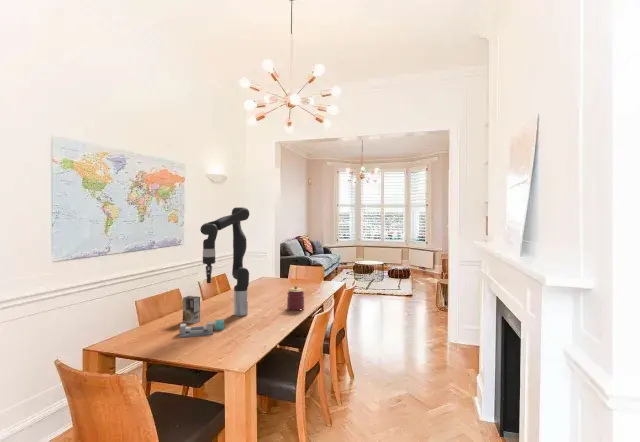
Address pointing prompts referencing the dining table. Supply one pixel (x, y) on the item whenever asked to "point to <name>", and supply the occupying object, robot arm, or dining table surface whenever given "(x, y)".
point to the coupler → (219, 324)
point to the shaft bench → (196, 330)
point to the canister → (295, 298)
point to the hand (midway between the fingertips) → (208, 281)
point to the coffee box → (191, 309)
